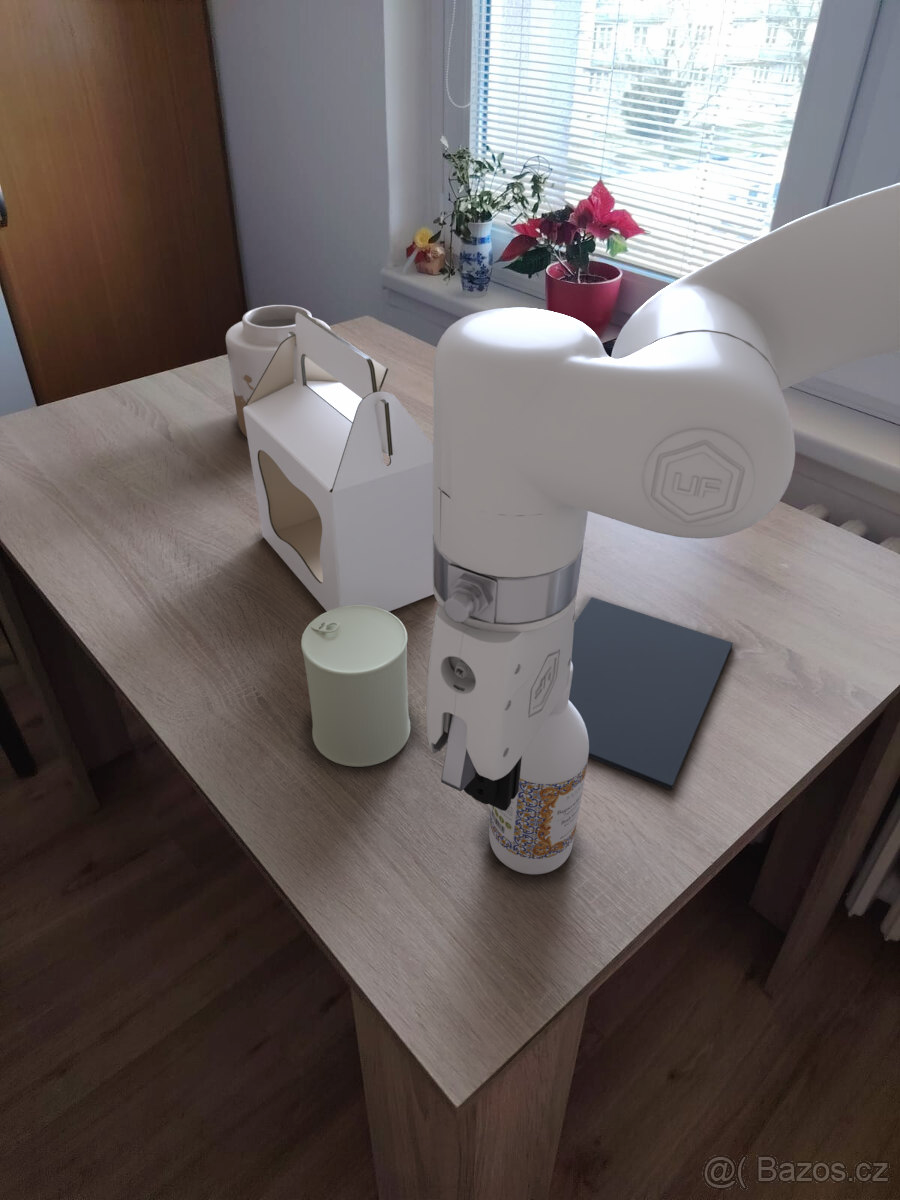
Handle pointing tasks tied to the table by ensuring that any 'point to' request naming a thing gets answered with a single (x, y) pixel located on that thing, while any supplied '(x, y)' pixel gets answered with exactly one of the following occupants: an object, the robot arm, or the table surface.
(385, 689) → the can
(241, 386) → the vase
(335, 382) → the gable box
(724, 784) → the table surface
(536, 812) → the bath foam
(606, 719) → the mat
